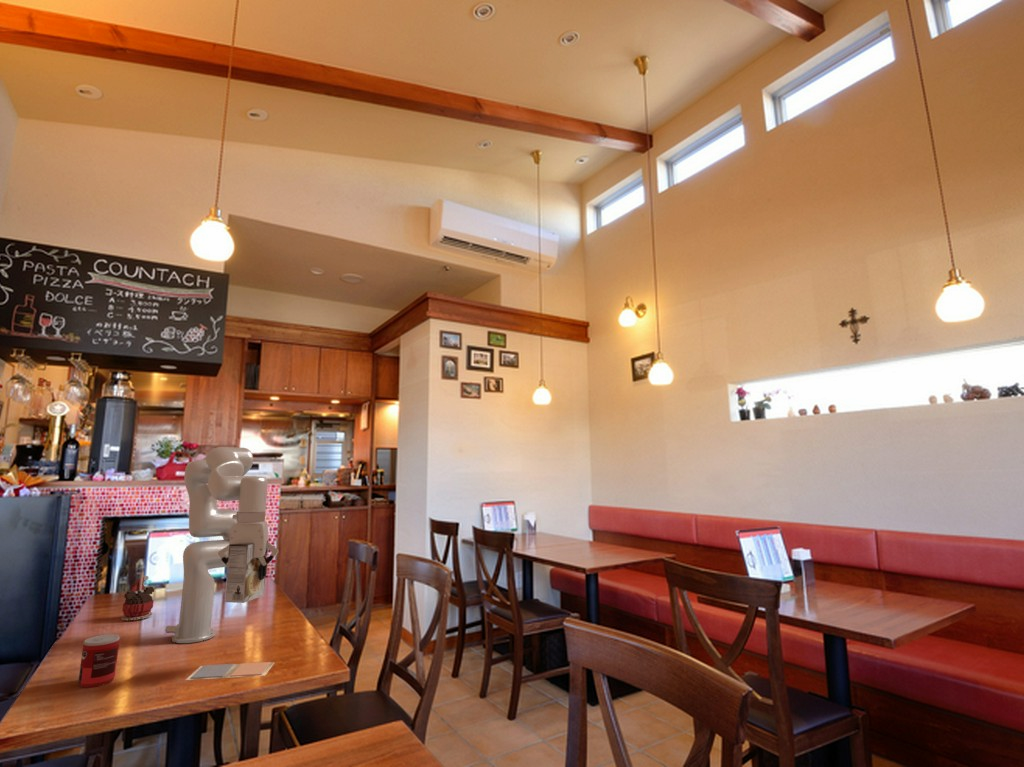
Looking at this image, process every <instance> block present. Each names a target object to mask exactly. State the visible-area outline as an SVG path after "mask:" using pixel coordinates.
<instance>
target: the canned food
mask: <svg viewBox="0 0 1024 767" xmlns="http://www.w3.org/2000/svg"><path fill="white" fill-rule="evenodd" d="M120 639H121V638H120V635H118V634H113V633H111V634H101V635H96V636H95V635H94V636H92V637H89V638H86V639H84V641H83V645H82V652H81V660H80V668H79V675H78V685H80V686H79V687H81V686H82V687H81V688H94V687H93V686H96V687H100V686H99V685H101V686H104V685H107V684H109V683H111V682H112V681H113V680H115V676H116V670H117V662H118V661H117V660H118V657H119V656H118V655H119V647H120ZM106 683H107V684H106ZM103 684H104V685H103Z"/></svg>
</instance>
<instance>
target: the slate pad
mask: <svg viewBox="0 0 1024 767" xmlns="http://www.w3.org/2000/svg"><path fill="white" fill-rule="evenodd" d="M234 664H235V663H226V664H225V663H224V664H221V663H220V664H206V665H202V666H203V667H202V668H200V669H199V670H198V671H197V672H196V673H195V674H194V675H193V676H192V677H191V678H190V679H196V680H199V679H198V678H214V679H217V678H216V677H223V676H224V675H225V674H226V673H227V672H228V671H229V670H230V669H231V668H232V667H233V665H234Z"/></svg>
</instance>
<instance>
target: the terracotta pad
mask: <svg viewBox="0 0 1024 767" xmlns="http://www.w3.org/2000/svg"><path fill="white" fill-rule="evenodd" d="M240 664H241V665H240V666H239V667H238V668H237V669H236V670H235V671H234V672H233V673H232V674H231V675H230V677H232V678H235V677H234V676H250V677H254V676H253V675H262V674H263V673H264V671H265V670H266V669H267V667H268V666H269V665H270V664H271V661H265V662H264V661H263V662H242V663H240Z"/></svg>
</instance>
